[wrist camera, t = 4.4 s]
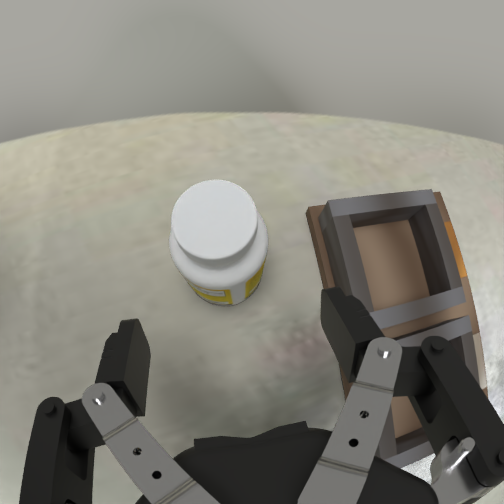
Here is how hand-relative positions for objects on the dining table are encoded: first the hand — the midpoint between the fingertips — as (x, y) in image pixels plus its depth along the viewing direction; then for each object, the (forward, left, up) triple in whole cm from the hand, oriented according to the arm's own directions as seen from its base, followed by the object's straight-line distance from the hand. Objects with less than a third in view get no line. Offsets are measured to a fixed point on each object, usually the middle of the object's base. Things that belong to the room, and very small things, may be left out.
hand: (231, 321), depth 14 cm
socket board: (+13, -2, -9) cm, 17 cm away
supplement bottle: (0, +5, -9) cm, 11 cm away
